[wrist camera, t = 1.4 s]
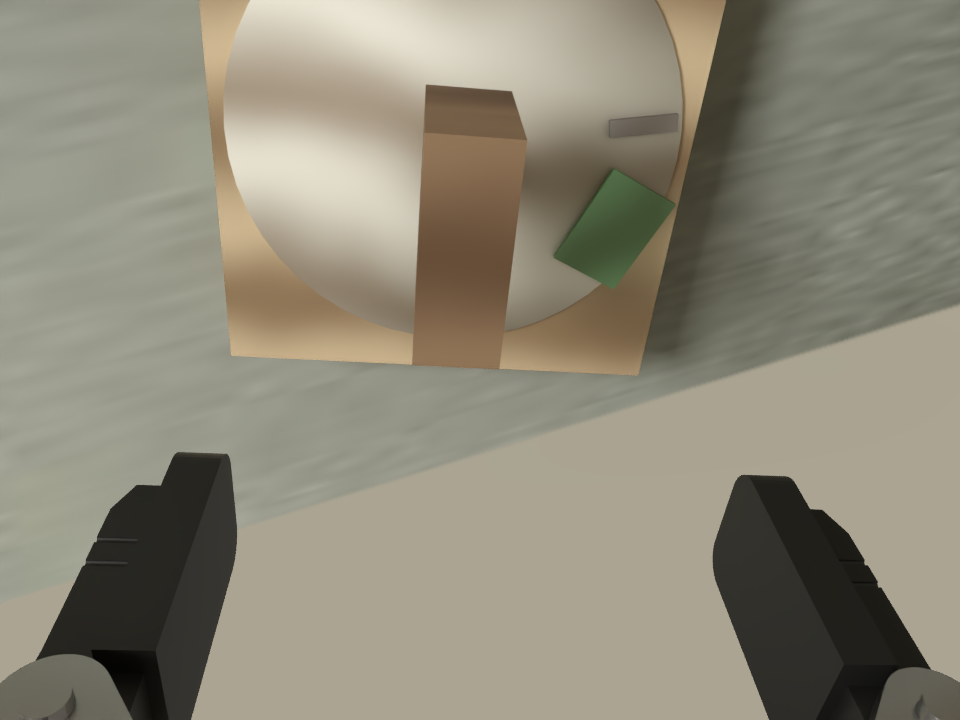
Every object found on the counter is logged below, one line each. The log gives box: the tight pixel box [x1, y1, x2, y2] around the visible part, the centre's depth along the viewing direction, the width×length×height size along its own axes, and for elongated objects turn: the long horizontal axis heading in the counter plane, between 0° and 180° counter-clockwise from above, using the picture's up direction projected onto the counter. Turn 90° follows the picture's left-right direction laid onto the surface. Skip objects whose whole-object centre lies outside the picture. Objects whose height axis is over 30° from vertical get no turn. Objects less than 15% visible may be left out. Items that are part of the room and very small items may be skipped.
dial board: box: [199, 0, 726, 375], centre depth 30 cm, size 19×17×4 cm
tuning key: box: [412, 84, 527, 369], centre depth 25 cm, size 11×2×9 cm, turn 175°
